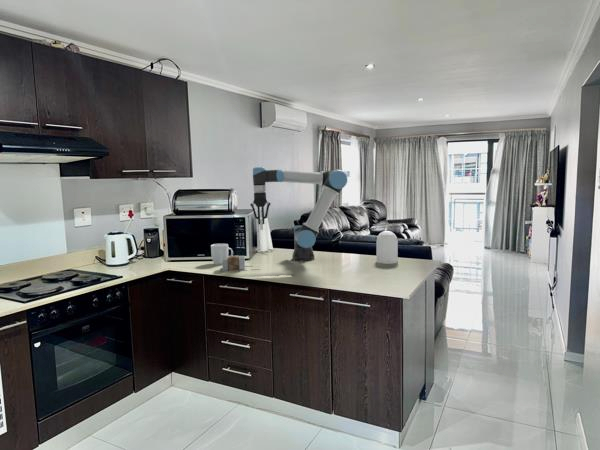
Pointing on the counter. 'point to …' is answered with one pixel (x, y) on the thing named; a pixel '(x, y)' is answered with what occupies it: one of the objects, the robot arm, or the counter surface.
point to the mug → (219, 252)
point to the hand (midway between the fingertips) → (261, 229)
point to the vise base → (236, 270)
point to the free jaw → (241, 262)
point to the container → (387, 248)
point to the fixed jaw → (225, 264)
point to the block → (233, 262)
